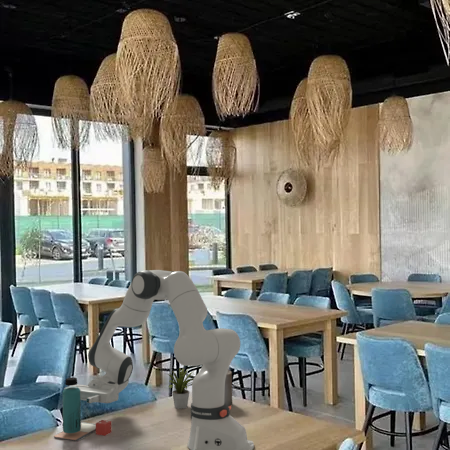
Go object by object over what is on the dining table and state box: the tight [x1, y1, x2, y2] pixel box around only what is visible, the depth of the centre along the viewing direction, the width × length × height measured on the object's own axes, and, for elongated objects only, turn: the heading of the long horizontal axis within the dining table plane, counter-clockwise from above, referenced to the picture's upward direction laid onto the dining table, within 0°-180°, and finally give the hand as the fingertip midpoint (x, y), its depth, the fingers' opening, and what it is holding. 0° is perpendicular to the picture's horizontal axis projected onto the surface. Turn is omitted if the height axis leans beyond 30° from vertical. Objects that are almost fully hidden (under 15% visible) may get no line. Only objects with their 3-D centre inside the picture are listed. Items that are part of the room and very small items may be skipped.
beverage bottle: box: [61, 376, 82, 433], centre depth 210 cm, size 6×7×20 cm
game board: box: [53, 421, 96, 442], centre depth 214 cm, size 10×17×1 cm, turn 158°
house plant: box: [164, 366, 196, 410], centre depth 243 cm, size 14×14×16 cm
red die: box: [95, 419, 112, 437], centre depth 213 cm, size 4×4×4 cm
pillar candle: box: [224, 369, 233, 407], centre depth 247 cm, size 10×10×15 cm
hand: (77, 399), depth 214 cm, fingers open, 8 cm apart
